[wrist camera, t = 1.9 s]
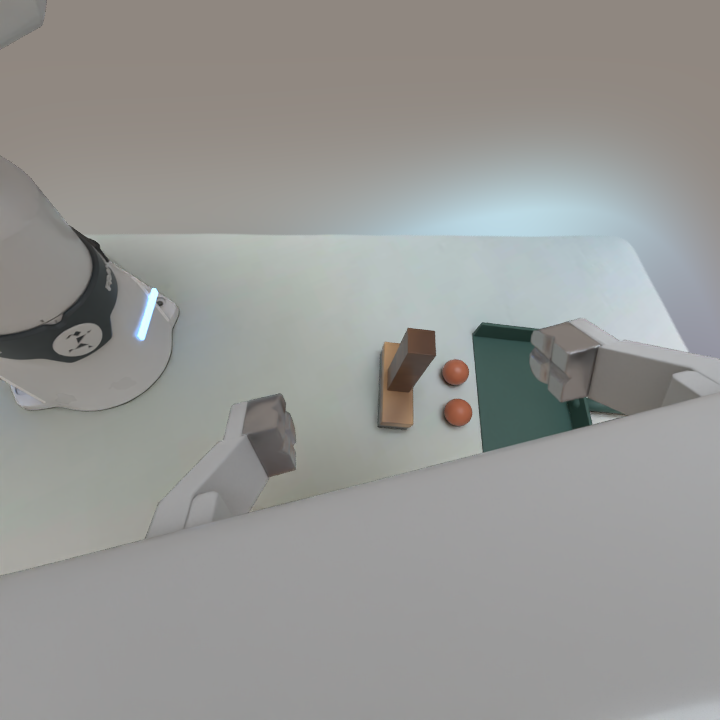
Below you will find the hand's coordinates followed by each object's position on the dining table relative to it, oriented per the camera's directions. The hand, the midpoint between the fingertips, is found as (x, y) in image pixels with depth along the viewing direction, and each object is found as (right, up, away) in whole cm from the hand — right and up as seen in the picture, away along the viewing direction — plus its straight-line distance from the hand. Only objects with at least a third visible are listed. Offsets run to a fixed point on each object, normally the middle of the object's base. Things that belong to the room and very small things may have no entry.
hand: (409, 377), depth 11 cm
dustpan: (+24, -5, +35) cm, 43 cm away
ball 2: (+10, -6, +32) cm, 35 cm away
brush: (+2, -3, +33) cm, 33 cm away
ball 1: (+10, -2, +35) cm, 36 cm away
